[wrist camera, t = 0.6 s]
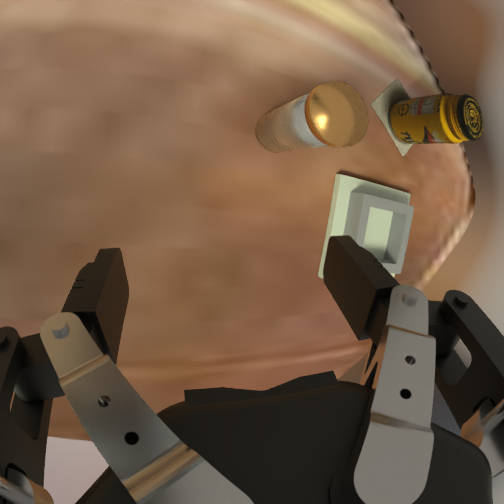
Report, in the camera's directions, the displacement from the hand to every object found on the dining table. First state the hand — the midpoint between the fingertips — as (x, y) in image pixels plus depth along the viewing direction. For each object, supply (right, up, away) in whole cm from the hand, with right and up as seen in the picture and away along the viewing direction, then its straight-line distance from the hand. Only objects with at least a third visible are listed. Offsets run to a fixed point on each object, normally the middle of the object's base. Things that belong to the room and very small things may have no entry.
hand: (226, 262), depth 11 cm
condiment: (+21, +18, +23) cm, 36 cm away
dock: (+15, +3, +25) cm, 29 cm away
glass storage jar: (+3, +13, +18) cm, 22 cm away
